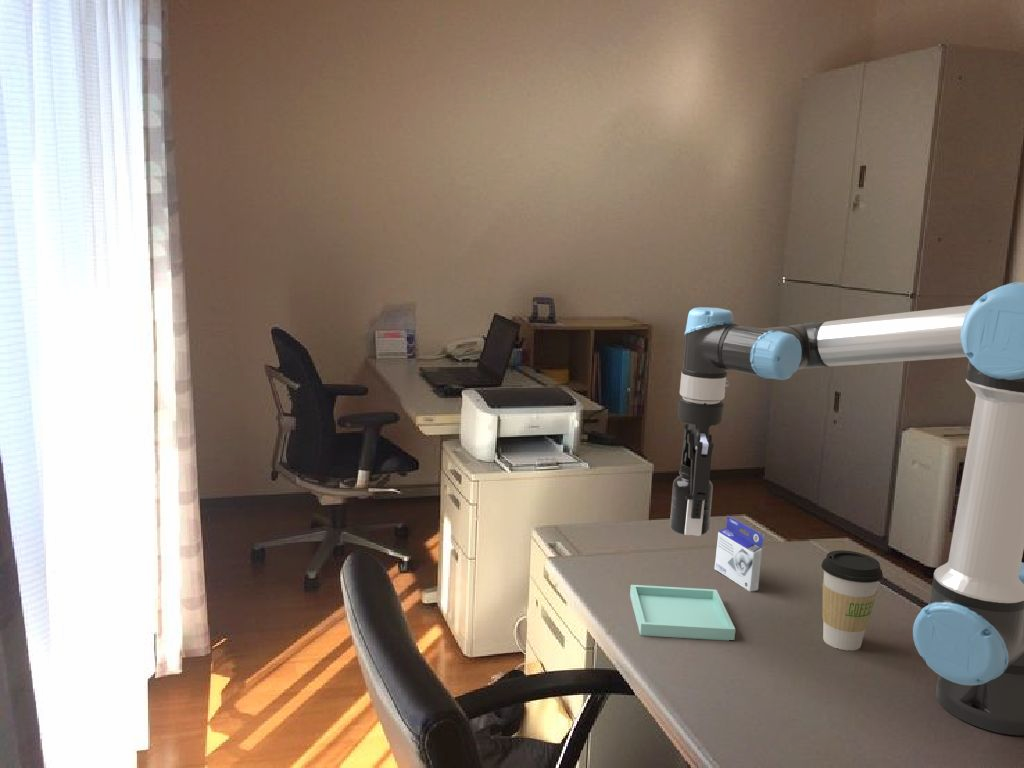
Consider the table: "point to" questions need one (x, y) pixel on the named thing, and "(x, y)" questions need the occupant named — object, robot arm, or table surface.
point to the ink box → (739, 554)
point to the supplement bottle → (686, 501)
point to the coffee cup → (848, 597)
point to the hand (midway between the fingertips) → (689, 526)
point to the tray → (681, 613)
